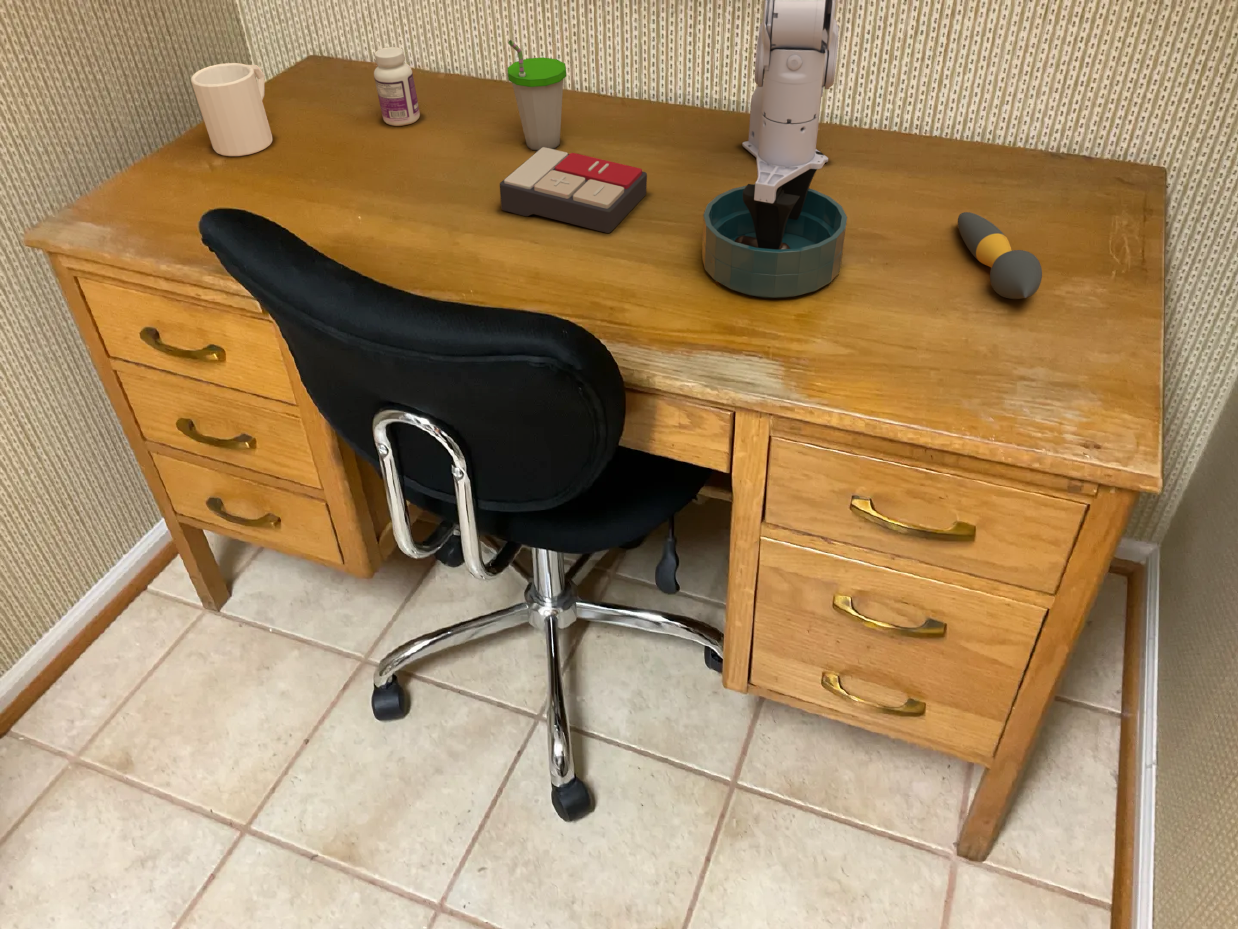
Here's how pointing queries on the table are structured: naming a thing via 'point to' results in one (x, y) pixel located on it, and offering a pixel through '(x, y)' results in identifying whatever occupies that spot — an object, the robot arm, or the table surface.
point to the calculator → (573, 189)
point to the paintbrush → (1000, 258)
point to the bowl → (769, 269)
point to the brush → (755, 242)
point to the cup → (538, 98)
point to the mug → (233, 107)
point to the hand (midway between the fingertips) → (779, 233)
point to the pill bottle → (395, 87)
